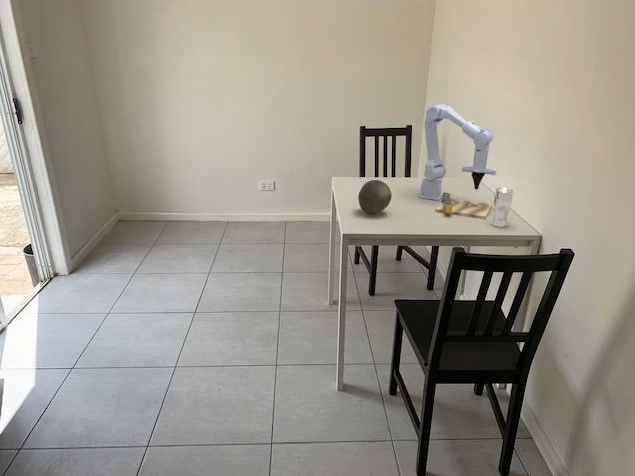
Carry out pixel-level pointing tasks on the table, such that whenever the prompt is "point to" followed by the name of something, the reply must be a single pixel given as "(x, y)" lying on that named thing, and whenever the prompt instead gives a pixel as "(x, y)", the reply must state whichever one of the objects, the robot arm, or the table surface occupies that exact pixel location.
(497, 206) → the beer glass
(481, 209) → the label board
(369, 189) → the grey ball
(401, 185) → the table surface
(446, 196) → the swing bar
